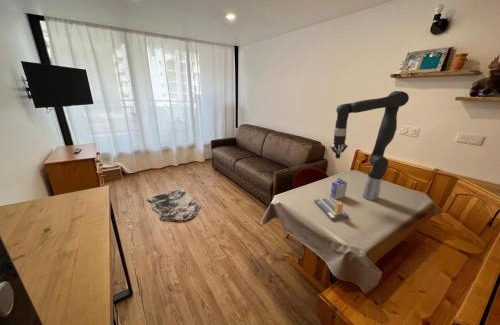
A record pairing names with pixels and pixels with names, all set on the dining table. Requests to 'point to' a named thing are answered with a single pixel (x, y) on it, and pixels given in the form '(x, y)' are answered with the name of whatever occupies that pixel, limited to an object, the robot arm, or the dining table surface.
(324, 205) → the switch panel
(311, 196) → the dining table surface
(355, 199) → the dining table surface
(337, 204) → the switch tab
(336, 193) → the ink cartridge box
